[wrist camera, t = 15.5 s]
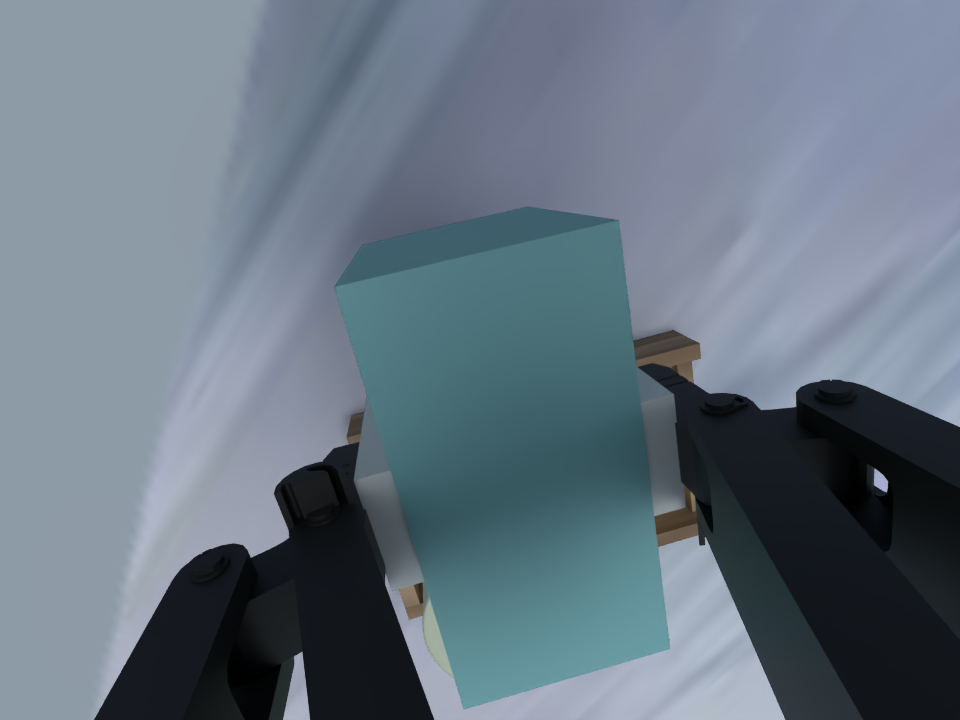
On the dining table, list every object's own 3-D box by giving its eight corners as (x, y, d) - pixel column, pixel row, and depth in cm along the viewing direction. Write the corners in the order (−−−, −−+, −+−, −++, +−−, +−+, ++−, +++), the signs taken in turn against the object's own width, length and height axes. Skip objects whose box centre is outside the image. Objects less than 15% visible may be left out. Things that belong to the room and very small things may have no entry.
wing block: (362, 244, 15) (333, 286, 9) (527, 206, 16) (619, 220, 9) (441, 526, 19) (463, 709, 12) (577, 489, 19) (670, 649, 13)
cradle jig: (351, 415, 34) (346, 437, 31) (674, 330, 36) (699, 343, 33) (408, 586, 39) (409, 619, 36) (692, 504, 40) (716, 529, 37)
